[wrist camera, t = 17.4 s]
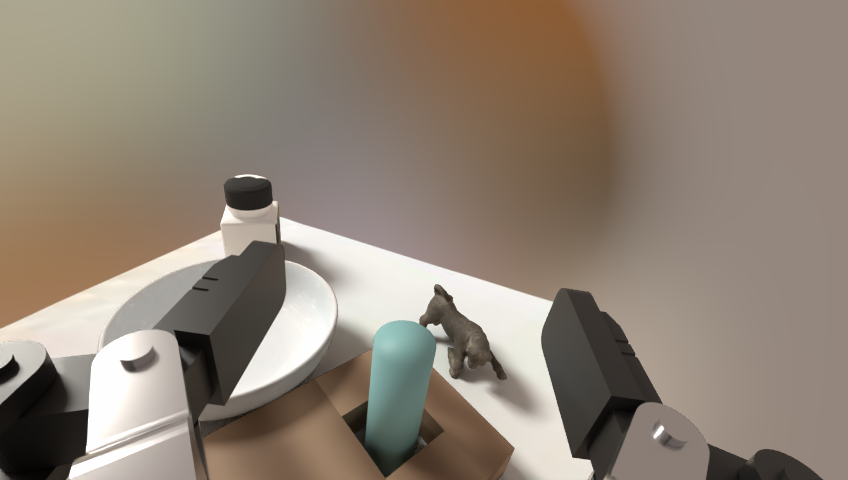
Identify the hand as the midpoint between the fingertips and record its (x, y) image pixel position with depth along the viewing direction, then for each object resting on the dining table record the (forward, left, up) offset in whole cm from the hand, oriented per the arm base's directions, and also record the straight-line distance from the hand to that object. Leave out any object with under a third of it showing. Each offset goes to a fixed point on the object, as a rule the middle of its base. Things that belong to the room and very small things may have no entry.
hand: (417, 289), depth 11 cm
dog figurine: (+21, +12, -28) cm, 37 cm away
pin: (+8, +8, -28) cm, 30 cm away
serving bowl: (+1, +26, -28) cm, 38 cm away
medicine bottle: (+10, +45, -28) cm, 54 cm away
